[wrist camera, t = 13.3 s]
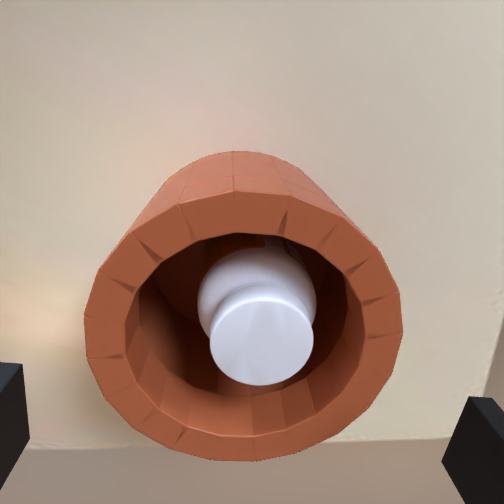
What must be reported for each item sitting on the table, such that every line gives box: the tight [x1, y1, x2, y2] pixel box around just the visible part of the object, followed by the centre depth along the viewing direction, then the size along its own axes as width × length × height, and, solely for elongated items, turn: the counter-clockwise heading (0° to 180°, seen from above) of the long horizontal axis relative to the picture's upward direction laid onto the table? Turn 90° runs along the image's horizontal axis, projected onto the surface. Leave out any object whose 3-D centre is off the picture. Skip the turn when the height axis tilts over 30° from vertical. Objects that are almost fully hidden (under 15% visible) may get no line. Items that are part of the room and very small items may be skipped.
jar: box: [84, 151, 403, 461], centre depth 20 cm, size 12×12×10 cm
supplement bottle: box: [197, 232, 316, 386], centre depth 19 cm, size 5×5×10 cm
